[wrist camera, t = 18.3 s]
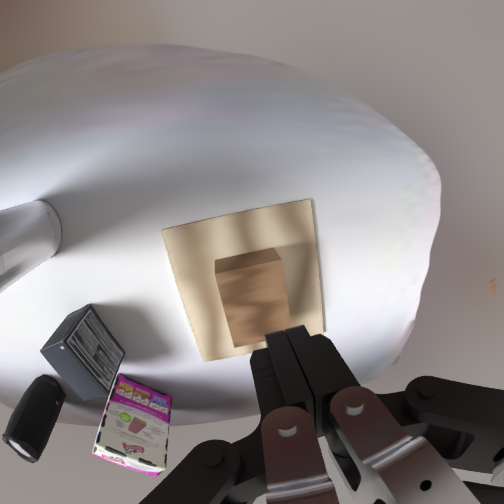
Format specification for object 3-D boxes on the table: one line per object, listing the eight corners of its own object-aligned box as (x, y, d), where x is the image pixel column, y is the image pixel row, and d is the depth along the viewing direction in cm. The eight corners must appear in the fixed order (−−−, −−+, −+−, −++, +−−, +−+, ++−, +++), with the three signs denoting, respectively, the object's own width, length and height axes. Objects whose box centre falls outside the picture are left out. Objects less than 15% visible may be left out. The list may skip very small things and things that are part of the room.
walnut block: (214, 259, 36) (231, 327, 40) (214, 273, 32) (234, 347, 35) (273, 247, 37) (284, 316, 40) (281, 259, 32) (292, 334, 36)
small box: (65, 315, 36) (36, 350, 26) (90, 302, 36) (61, 339, 26) (101, 362, 40) (82, 403, 30) (127, 353, 40) (110, 396, 30)
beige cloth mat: (203, 359, 42) (203, 362, 41) (162, 229, 35) (161, 230, 34) (322, 332, 43) (323, 334, 42) (308, 199, 36) (310, 199, 35)
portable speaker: (63, 379, 40) (30, 450, 22) (70, 406, 43) (45, 471, 24) (31, 365, 38) (-7, 428, 20) (40, 393, 41) (10, 452, 22)
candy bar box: (111, 387, 42) (90, 454, 26) (118, 372, 41) (93, 442, 25) (164, 410, 45) (157, 478, 29) (173, 396, 44) (166, 469, 28)
